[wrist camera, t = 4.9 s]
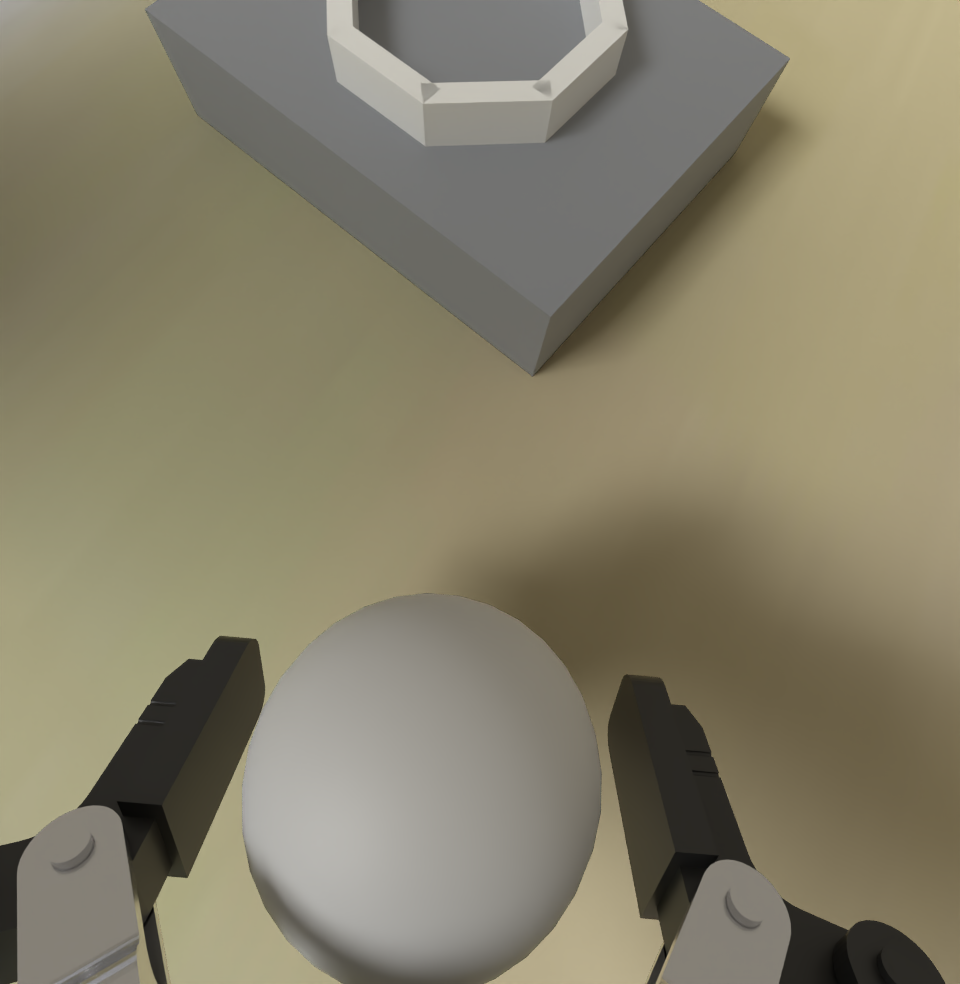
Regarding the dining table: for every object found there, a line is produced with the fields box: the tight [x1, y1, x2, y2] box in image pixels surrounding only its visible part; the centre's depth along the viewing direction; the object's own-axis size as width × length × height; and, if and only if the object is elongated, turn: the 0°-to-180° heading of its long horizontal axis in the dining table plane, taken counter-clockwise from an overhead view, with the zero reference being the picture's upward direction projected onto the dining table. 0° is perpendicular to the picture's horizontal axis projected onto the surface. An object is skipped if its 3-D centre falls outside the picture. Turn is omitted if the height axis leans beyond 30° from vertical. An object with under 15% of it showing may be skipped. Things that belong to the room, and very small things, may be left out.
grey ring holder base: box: [145, 0, 790, 376], centre depth 21 cm, size 18×14×6 cm
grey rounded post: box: [242, 593, 602, 984], centre depth 12 cm, size 6×6×11 cm
